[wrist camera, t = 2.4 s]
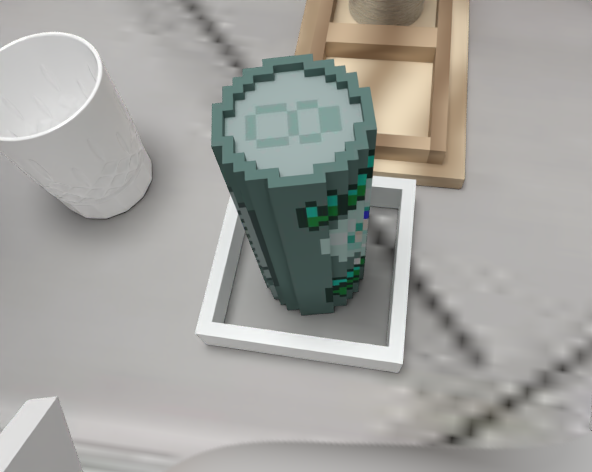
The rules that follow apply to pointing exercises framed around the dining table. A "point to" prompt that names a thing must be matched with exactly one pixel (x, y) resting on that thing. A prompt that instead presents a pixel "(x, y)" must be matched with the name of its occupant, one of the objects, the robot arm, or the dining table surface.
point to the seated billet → (386, 11)
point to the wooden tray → (404, 83)
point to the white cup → (70, 125)
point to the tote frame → (304, 346)
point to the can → (300, 175)
